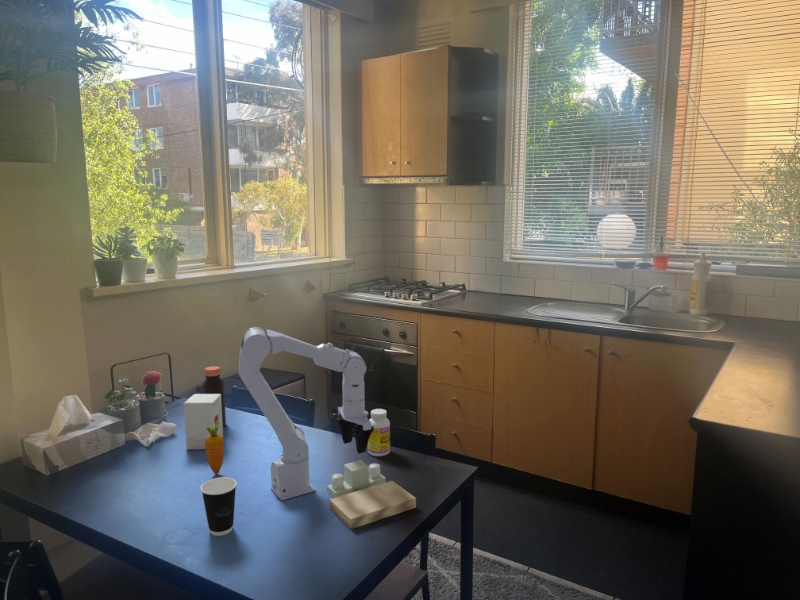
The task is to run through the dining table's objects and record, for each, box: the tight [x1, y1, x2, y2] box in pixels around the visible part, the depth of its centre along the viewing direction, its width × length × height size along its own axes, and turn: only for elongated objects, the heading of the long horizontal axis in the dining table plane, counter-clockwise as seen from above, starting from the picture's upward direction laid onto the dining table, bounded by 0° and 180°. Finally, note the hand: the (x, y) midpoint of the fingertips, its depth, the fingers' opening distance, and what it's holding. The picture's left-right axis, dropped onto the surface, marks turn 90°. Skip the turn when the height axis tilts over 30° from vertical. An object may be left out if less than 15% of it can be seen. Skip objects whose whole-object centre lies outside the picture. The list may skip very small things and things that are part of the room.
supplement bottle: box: [367, 408, 391, 457], centre depth 177 cm, size 7×7×13 cm
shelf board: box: [328, 480, 417, 530], centre depth 145 cm, size 18×11×2 cm, turn 123°
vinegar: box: [202, 365, 227, 427], centre depth 198 cm, size 7×7×20 cm
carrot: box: [205, 421, 225, 476], centre depth 163 cm, size 5×5×15 cm
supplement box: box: [183, 393, 224, 450], centre depth 184 cm, size 9×9×15 cm
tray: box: [326, 459, 387, 498], centre depth 156 cm, size 15×5×6 cm, turn 123°
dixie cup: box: [199, 476, 238, 537], centre depth 135 cm, size 8×8×11 cm
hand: (354, 447), depth 158 cm, fingers open, 7 cm apart
